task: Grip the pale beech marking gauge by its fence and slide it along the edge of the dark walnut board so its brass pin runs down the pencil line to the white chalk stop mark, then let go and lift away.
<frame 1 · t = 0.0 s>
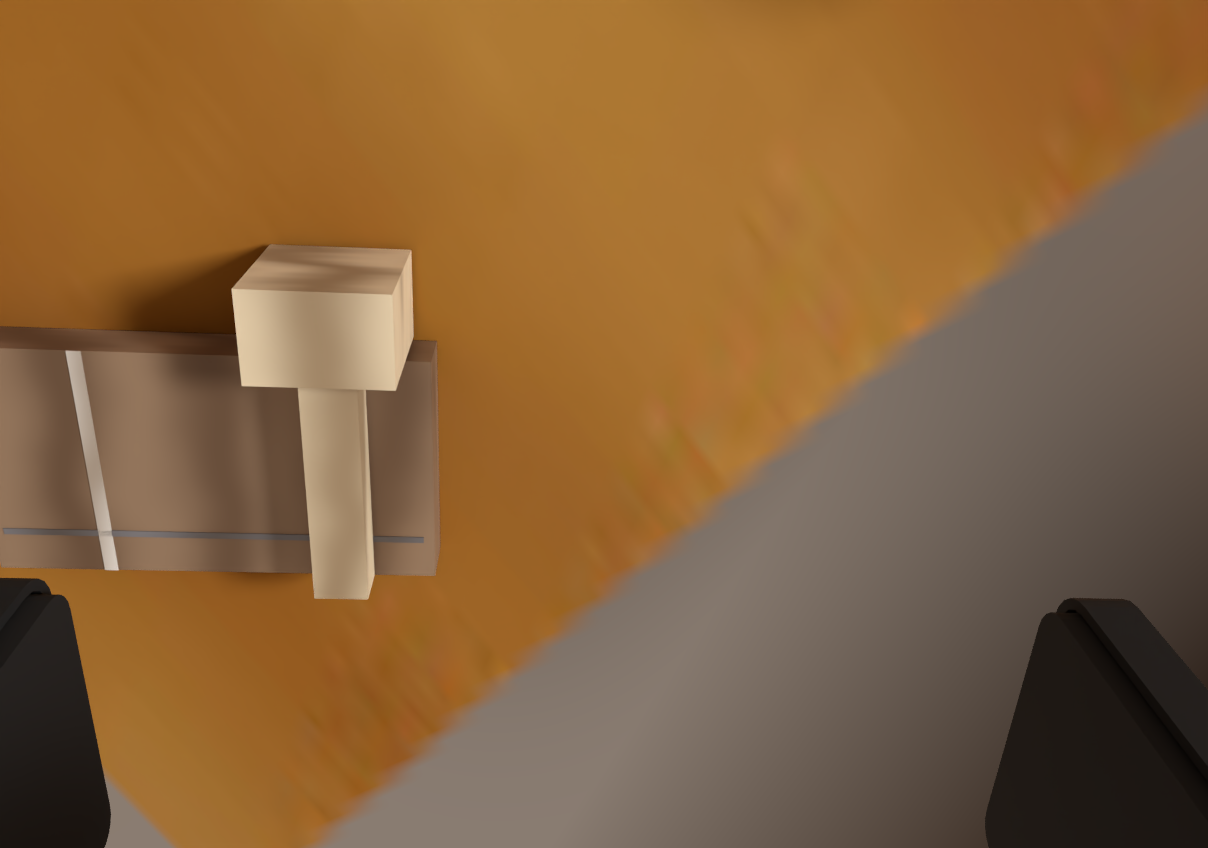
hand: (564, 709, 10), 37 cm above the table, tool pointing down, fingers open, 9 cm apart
walnut board: (224, 443, 49), on the table
marking gauge: (337, 435, 46), point 3 cm above the table, slide at 0.0 cm
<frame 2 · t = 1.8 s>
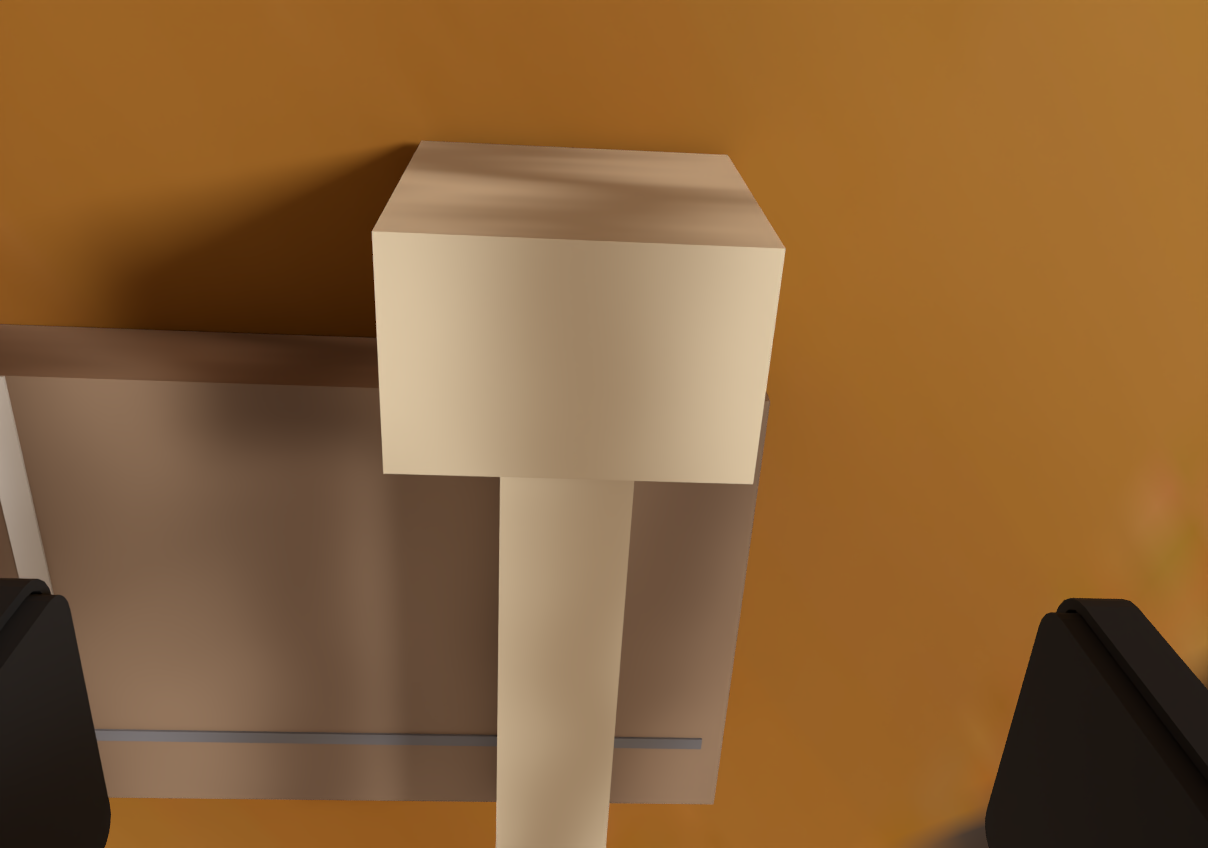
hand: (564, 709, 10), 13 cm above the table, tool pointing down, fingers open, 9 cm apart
walnut board: (305, 549, 25), on the table
marking gauge: (562, 556, 21), point 3 cm above the table, slide at 0.0 cm
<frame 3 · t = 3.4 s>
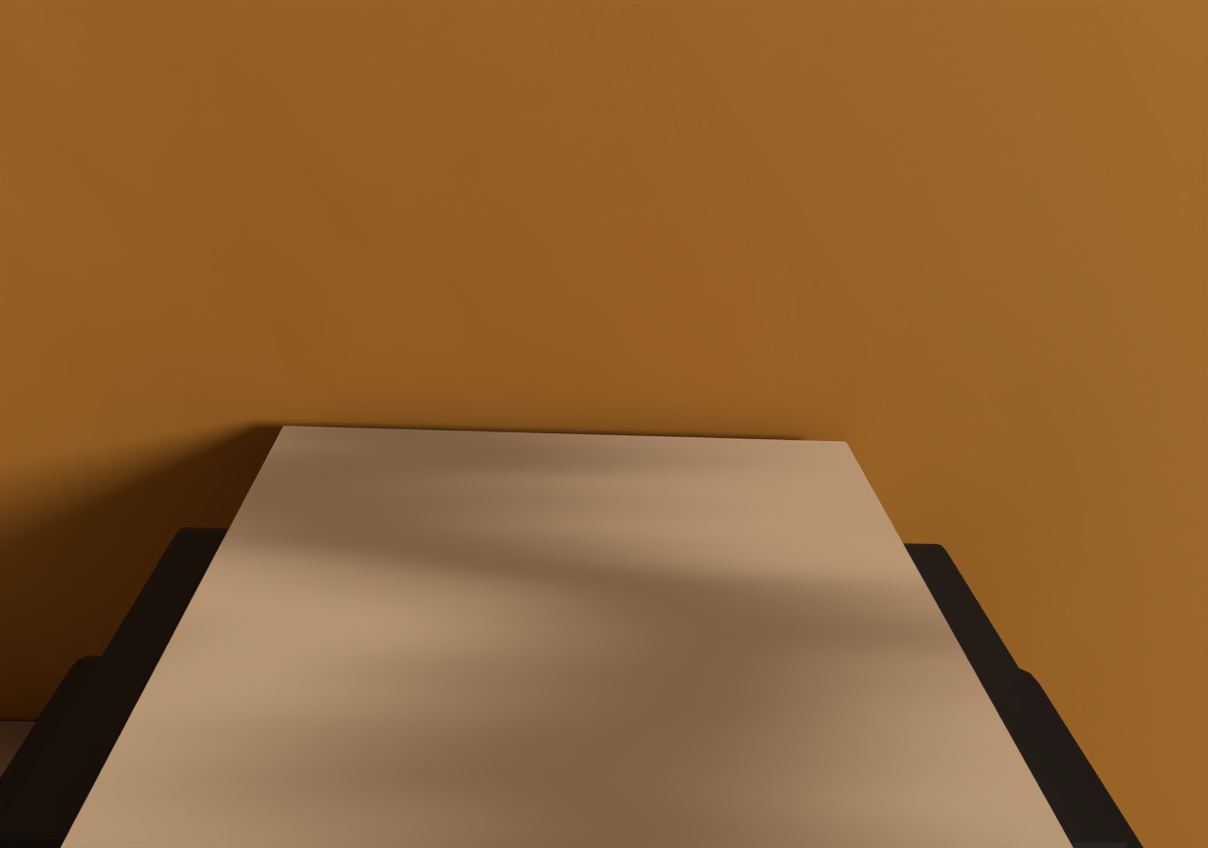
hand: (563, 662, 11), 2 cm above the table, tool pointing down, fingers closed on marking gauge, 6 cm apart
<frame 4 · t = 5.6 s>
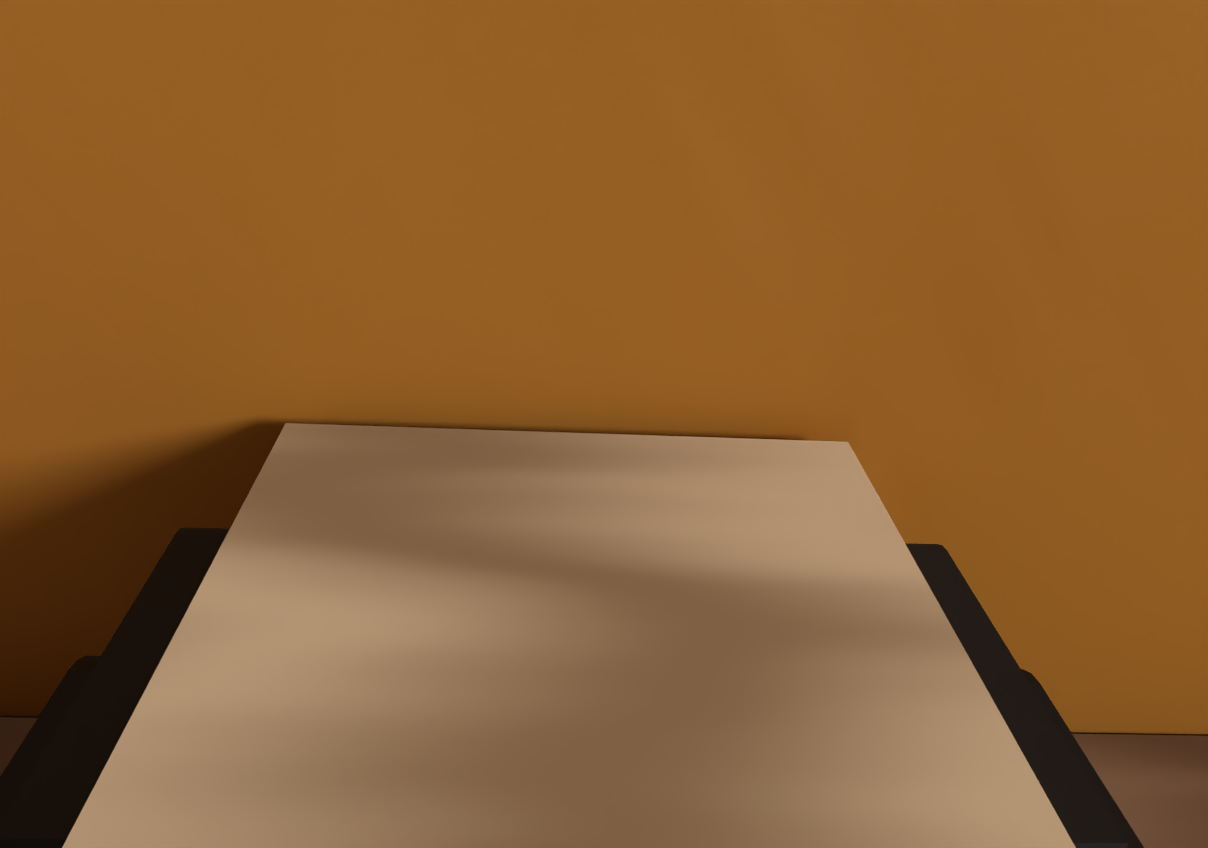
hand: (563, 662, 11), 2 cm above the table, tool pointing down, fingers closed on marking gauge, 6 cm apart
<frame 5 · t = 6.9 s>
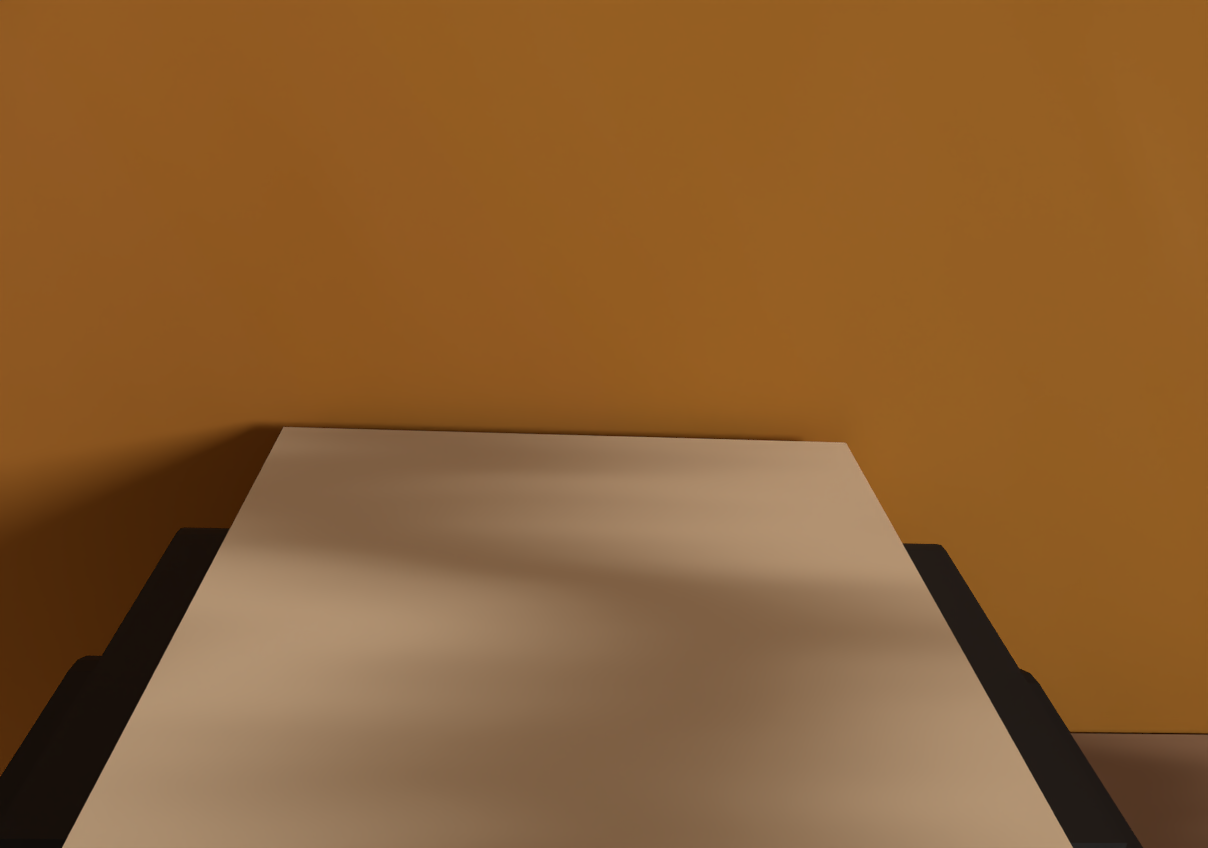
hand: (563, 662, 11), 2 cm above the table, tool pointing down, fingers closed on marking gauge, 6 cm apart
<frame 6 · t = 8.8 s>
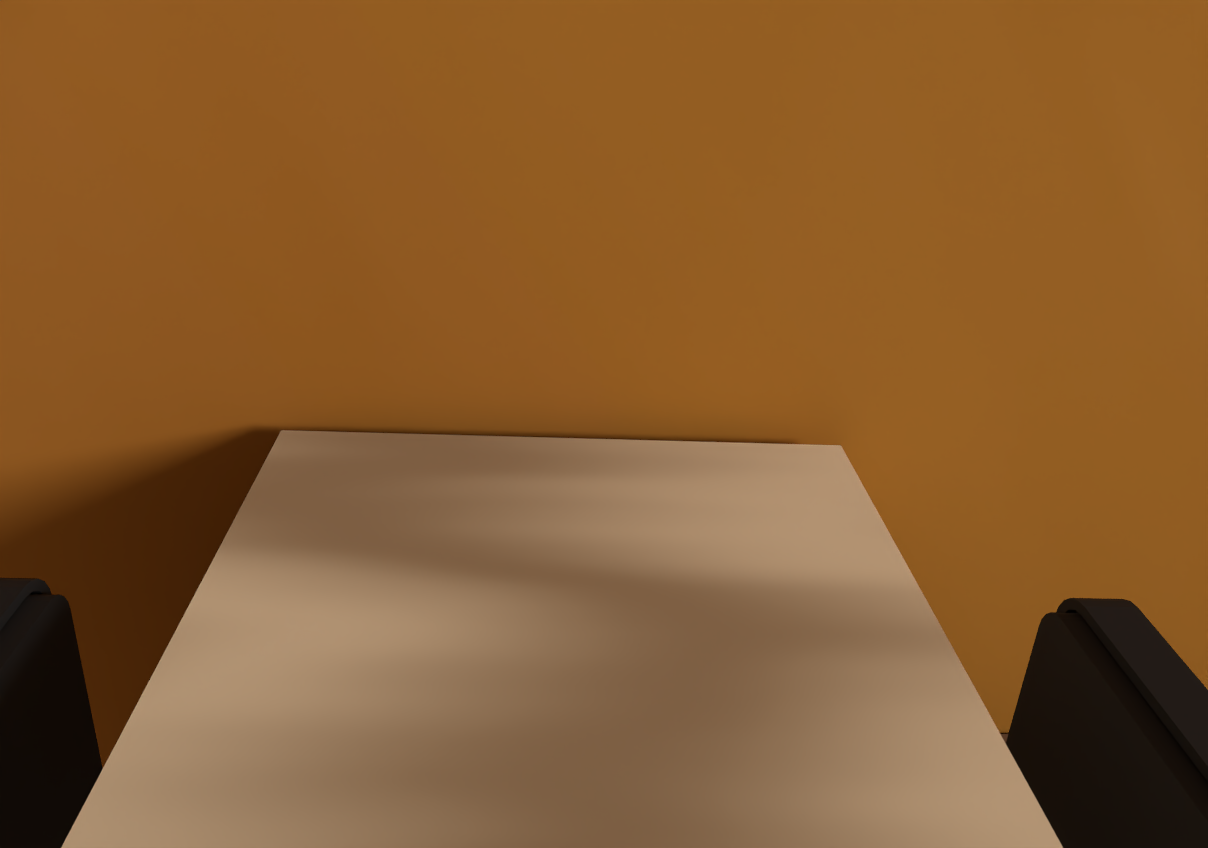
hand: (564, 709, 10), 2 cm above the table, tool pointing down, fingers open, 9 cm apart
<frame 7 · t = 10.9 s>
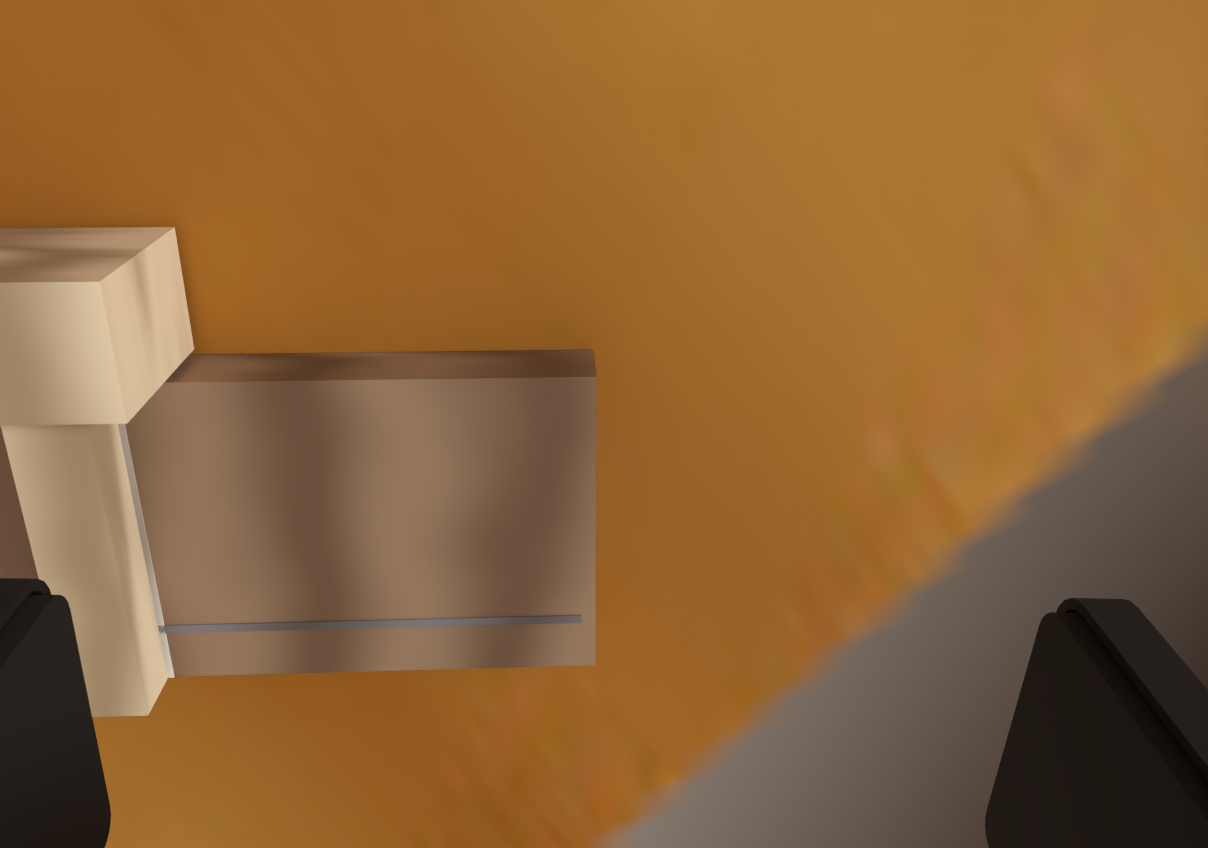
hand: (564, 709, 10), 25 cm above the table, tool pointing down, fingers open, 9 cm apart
walnut board: (308, 500, 37), on the table
marking gauge: (84, 490, 33), point 3 cm above the table, slide at 12.0 cm
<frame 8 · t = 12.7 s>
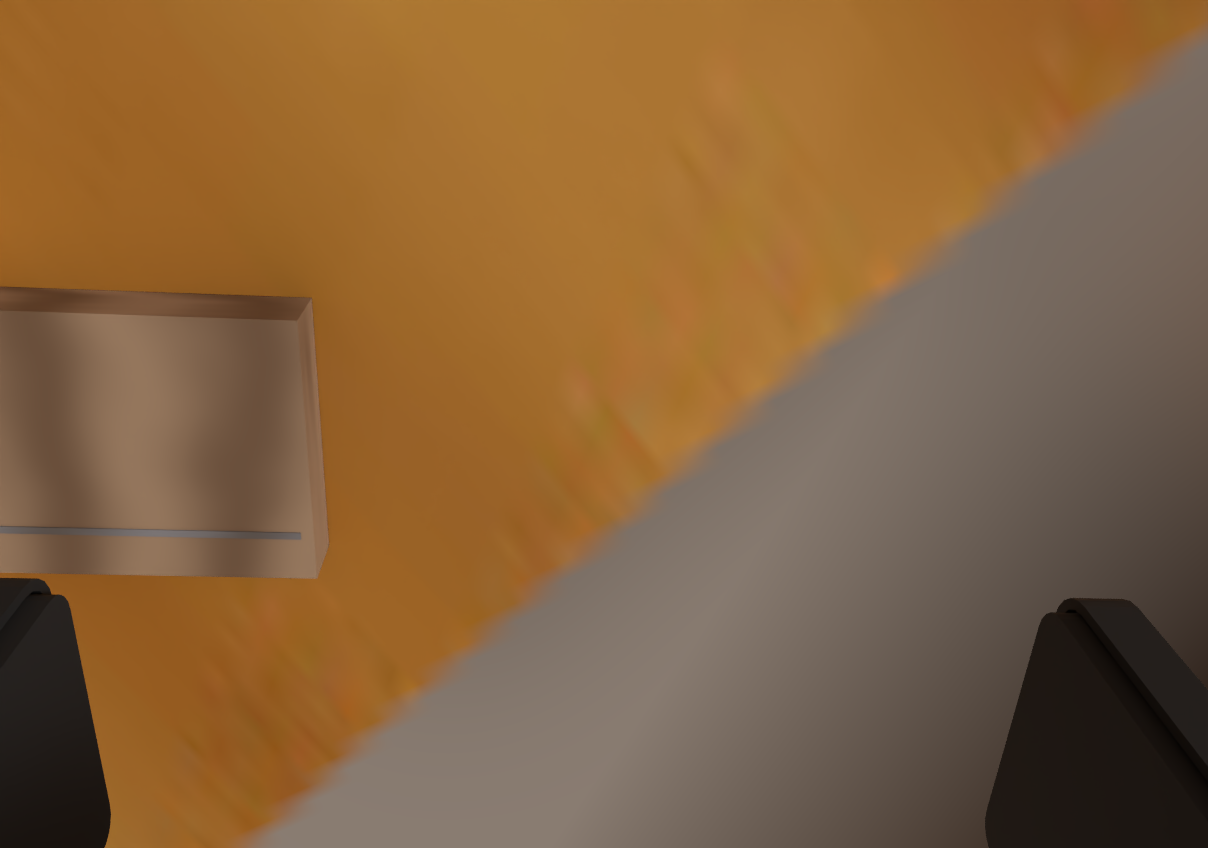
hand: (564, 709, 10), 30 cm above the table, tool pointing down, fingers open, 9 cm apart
walnut board: (64, 421, 41), on the table
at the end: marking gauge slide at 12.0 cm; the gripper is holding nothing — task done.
